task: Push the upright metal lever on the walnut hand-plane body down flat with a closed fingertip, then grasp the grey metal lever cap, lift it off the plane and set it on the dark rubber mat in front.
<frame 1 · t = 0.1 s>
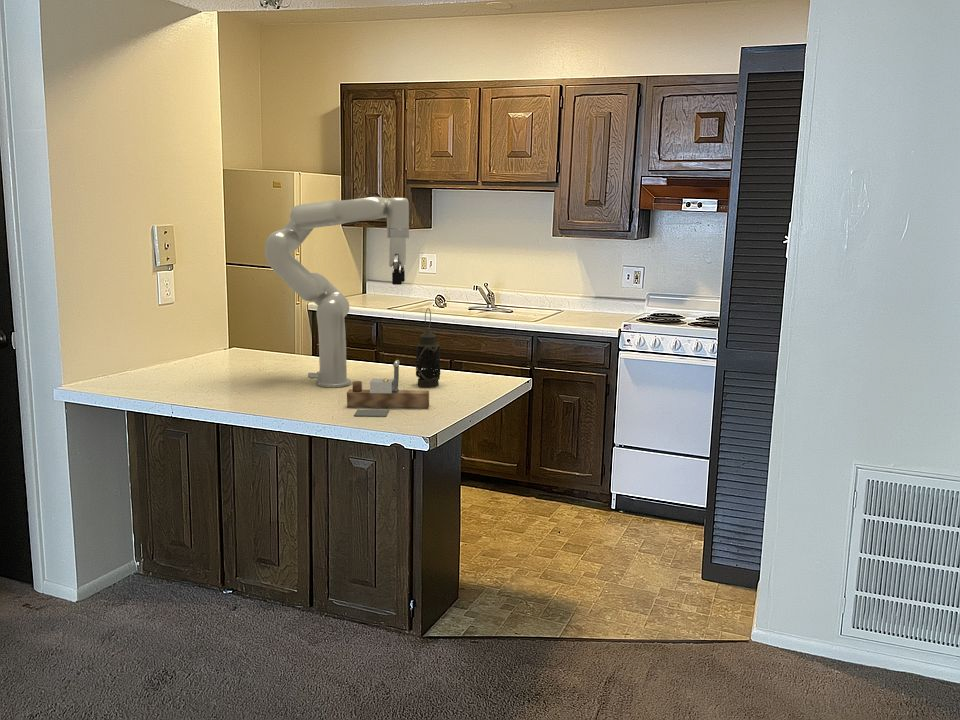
hand: (398, 283, 299), 37 cm above the countertop, fingers open, 9 cm apart
lantern: (427, 386, 306), on the countertop
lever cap: (382, 391, 274), point 5 cm above the countertop, touching plane body
lever: (396, 375, 273), point 10 cm above the countertop, hinge at 2.0°
plane body: (388, 406, 275), on the countertop
mat: (371, 413, 266), on the countertop
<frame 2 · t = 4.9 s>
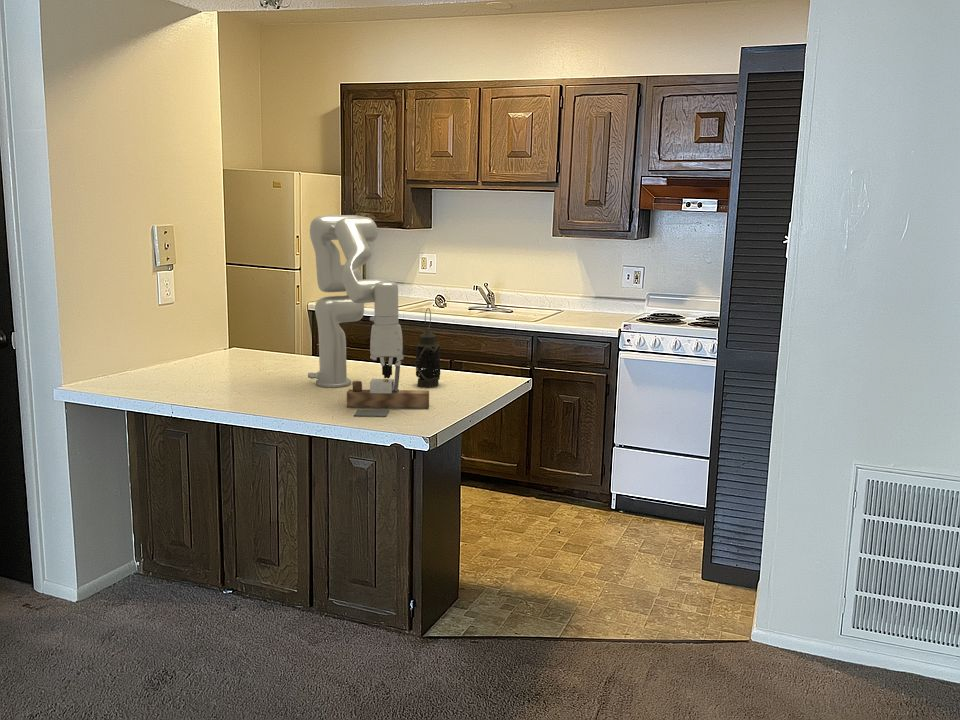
hand: (387, 377, 273), 10 cm above the countertop, fingers closed
lever: (397, 375, 273), point 10 cm above the countertop, hinge at 5.4°, touching gripper
everything else where it was.
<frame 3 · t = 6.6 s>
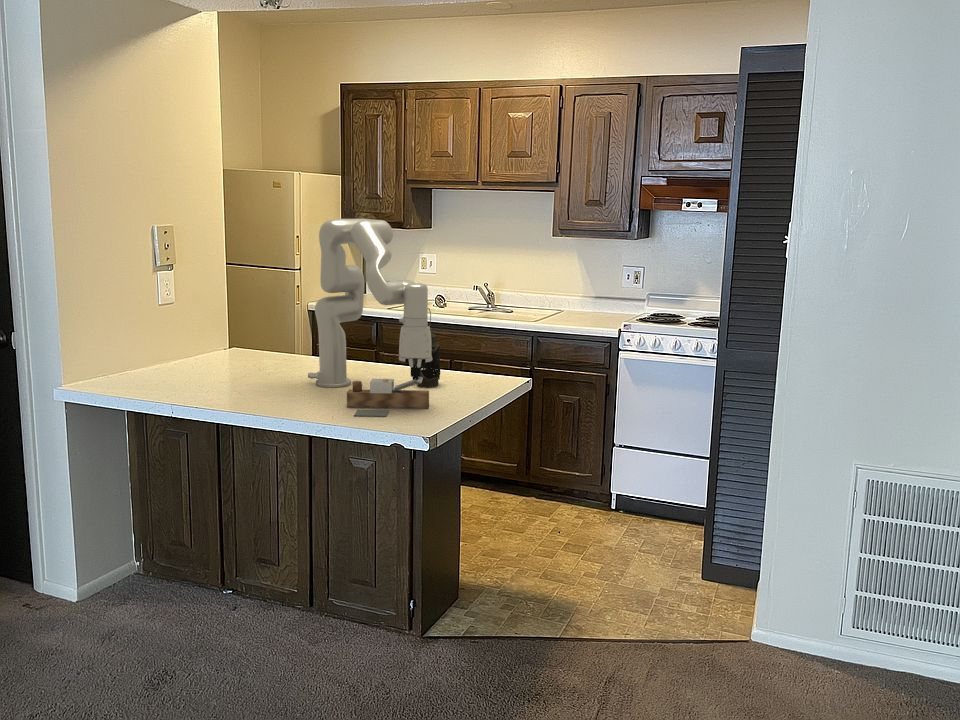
hand: (415, 378, 273), 9 cm above the countertop, fingers closed
lever: (408, 384, 273), point 7 cm above the countertop, hinge at 69.5°, touching gripper
everything else where it was.
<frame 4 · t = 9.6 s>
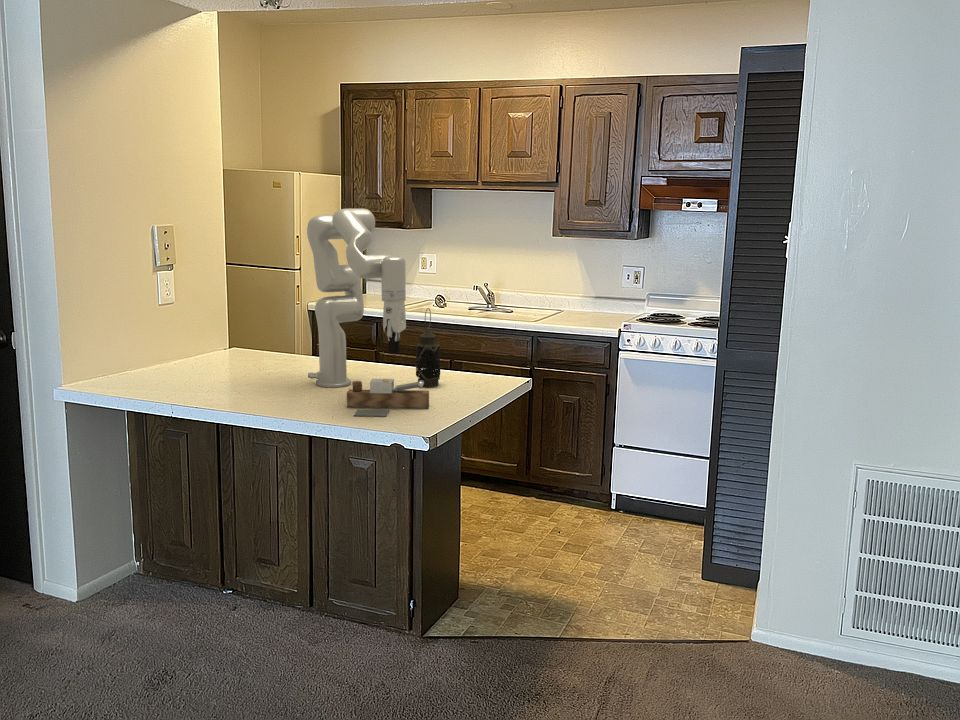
hand: (394, 353, 272), 18 cm above the countertop, fingers closed
lever: (408, 386, 273), point 7 cm above the countertop, hinge at 78.7°
everything else where it was.
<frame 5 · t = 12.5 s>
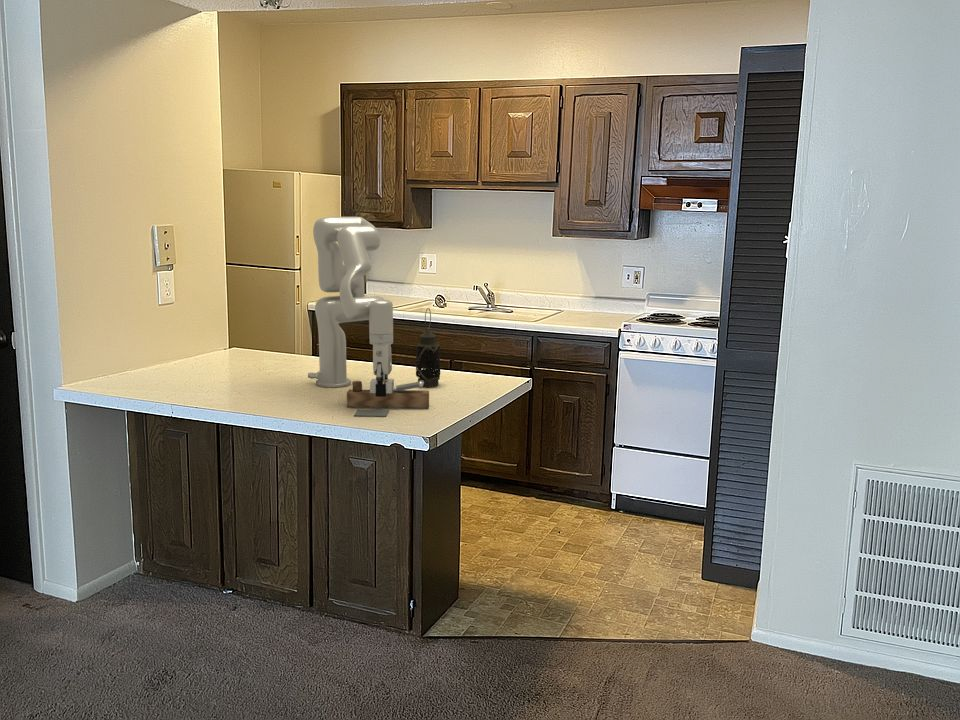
hand: (382, 393, 274), 4 cm above the countertop, fingers closed on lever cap, 5 cm apart
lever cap: (382, 391, 274), point 5 cm above the countertop, touching gripper, plane body
everything else where it was.
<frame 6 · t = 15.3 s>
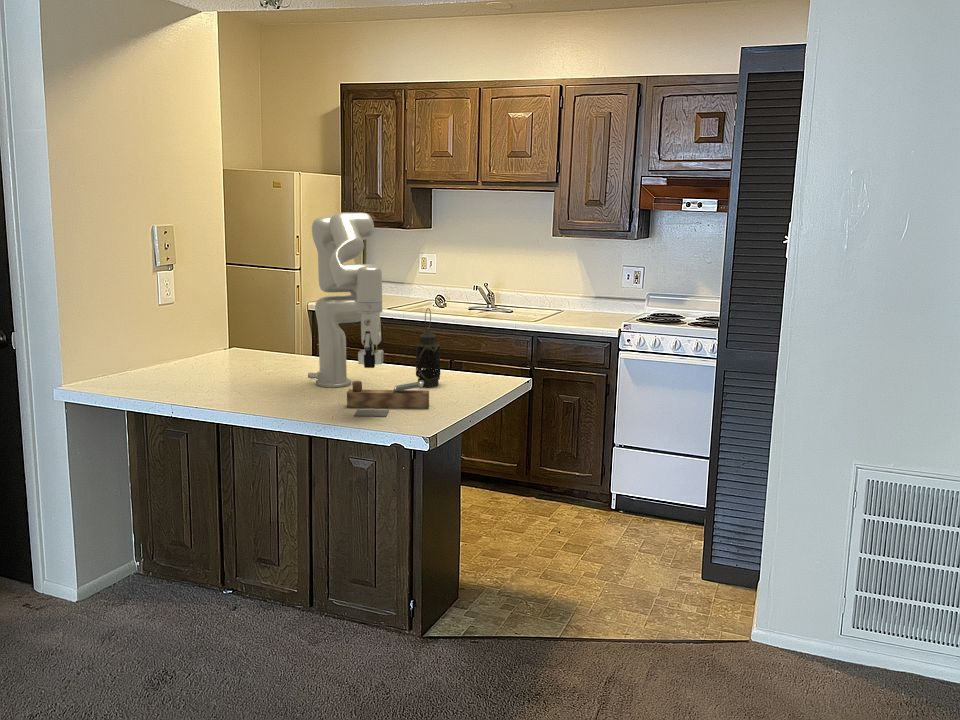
hand: (370, 365, 263), 16 cm above the countertop, fingers closed on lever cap, 5 cm apart
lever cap: (371, 362, 262), point 16 cm above the countertop, touching gripper
everything else where it was.
when the fingers open (2 cm above the countertop, at t = 18.1 s): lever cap drops 2 cm, resting on mat.
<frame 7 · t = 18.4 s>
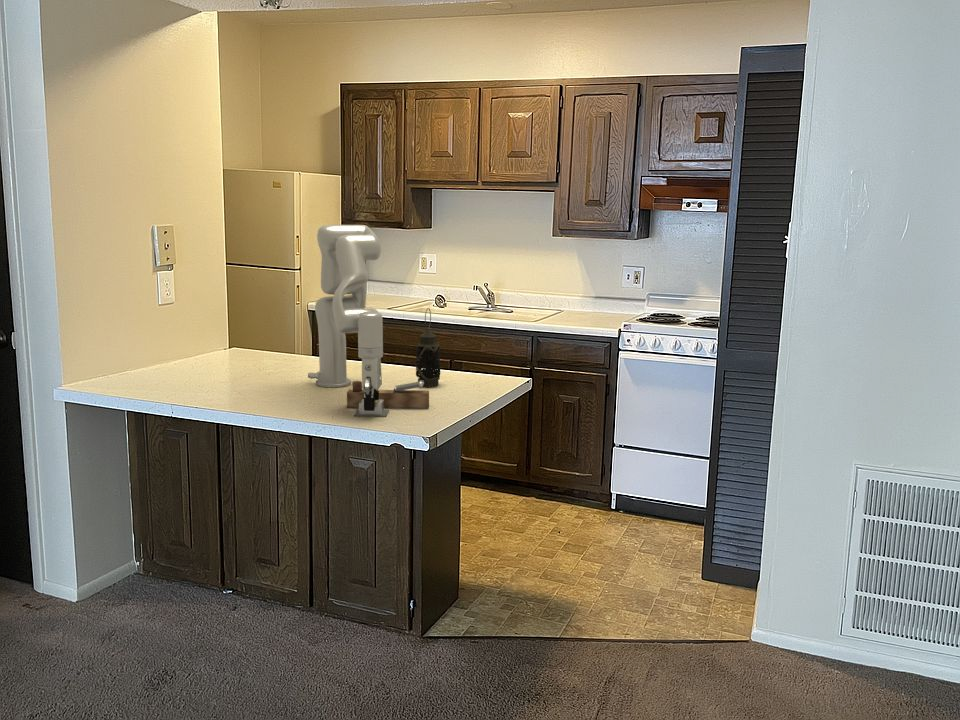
hand: (371, 406, 265), 2 cm above the countertop, fingers open, 8 cm apart
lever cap: (371, 412, 266), resting on mat
everything else where it was.
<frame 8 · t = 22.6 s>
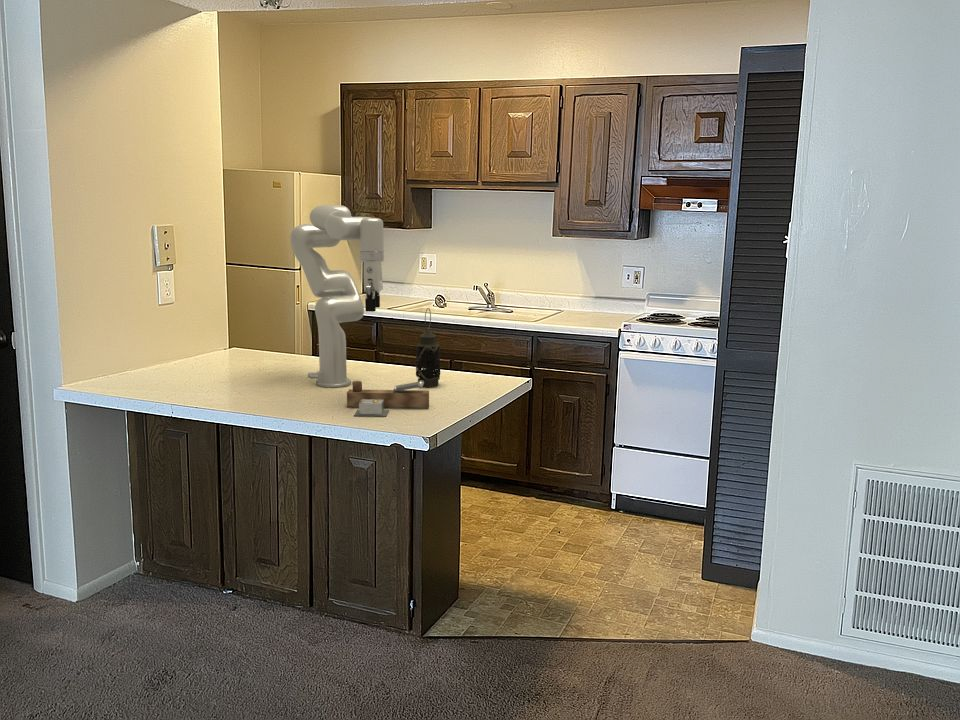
hand: (372, 309, 279), 30 cm above the countertop, fingers open, 9 cm apart
nothing on the countertop moved.
at the end: lever at +79° (first picture: +2°); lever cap inside the target area on the mat (0.1 cm from its centre), point 0.4 cm above the mat's base; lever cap tilted 0° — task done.
